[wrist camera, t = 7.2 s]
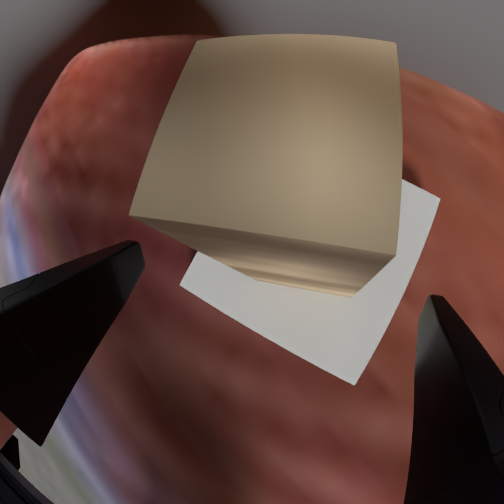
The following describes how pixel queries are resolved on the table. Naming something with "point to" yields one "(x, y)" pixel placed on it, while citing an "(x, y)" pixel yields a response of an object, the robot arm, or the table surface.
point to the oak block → (282, 159)
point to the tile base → (322, 299)
